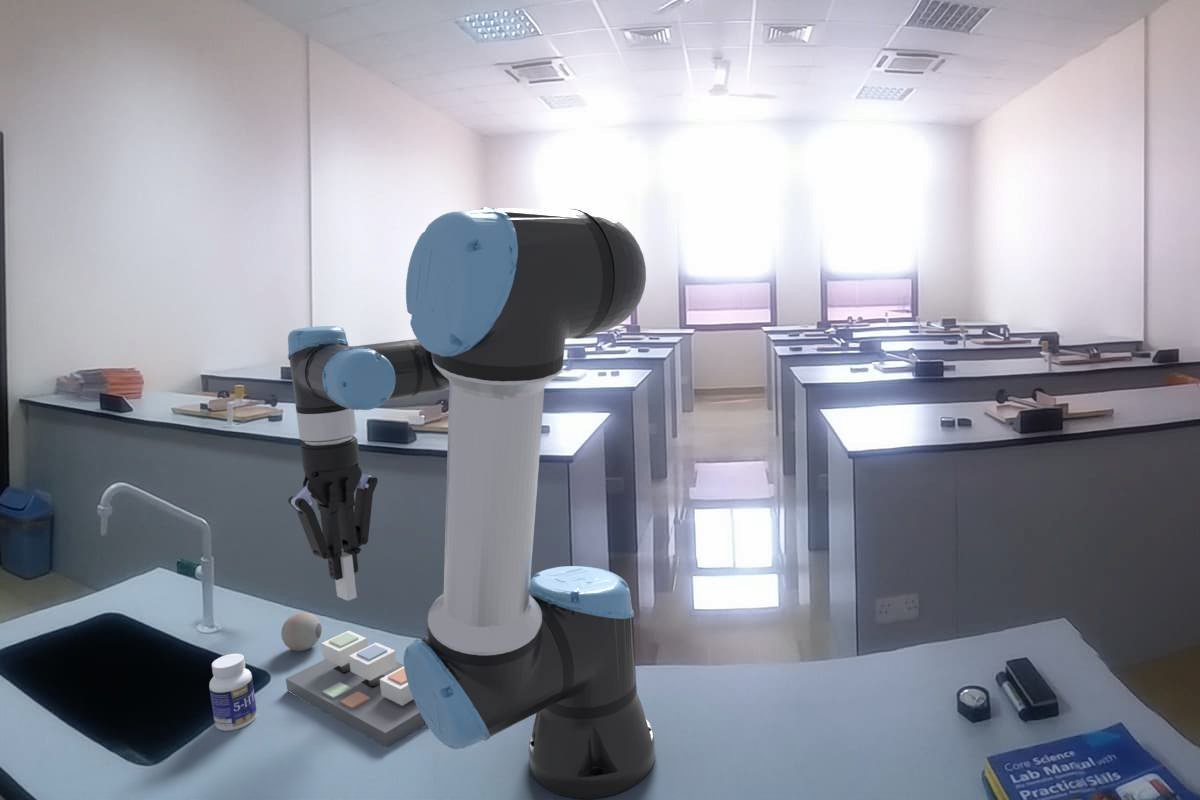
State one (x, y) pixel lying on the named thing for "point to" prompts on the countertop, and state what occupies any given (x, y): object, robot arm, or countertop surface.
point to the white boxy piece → (373, 662)
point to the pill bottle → (232, 693)
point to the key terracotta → (396, 687)
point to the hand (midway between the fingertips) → (346, 596)
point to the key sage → (343, 648)
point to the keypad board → (356, 702)
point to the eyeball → (301, 631)
